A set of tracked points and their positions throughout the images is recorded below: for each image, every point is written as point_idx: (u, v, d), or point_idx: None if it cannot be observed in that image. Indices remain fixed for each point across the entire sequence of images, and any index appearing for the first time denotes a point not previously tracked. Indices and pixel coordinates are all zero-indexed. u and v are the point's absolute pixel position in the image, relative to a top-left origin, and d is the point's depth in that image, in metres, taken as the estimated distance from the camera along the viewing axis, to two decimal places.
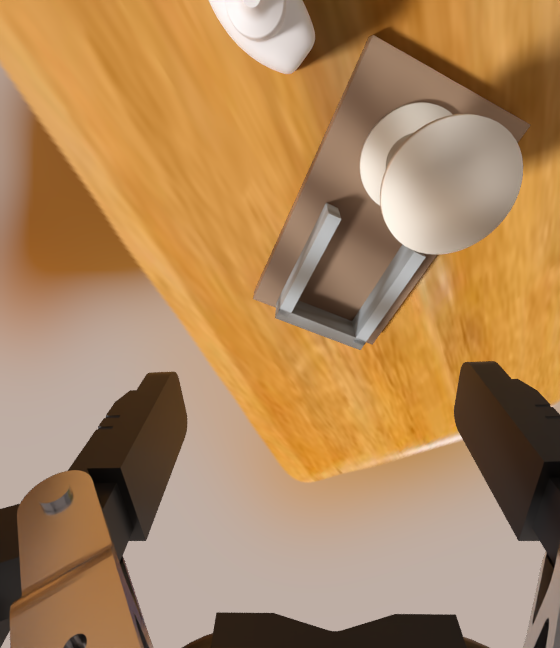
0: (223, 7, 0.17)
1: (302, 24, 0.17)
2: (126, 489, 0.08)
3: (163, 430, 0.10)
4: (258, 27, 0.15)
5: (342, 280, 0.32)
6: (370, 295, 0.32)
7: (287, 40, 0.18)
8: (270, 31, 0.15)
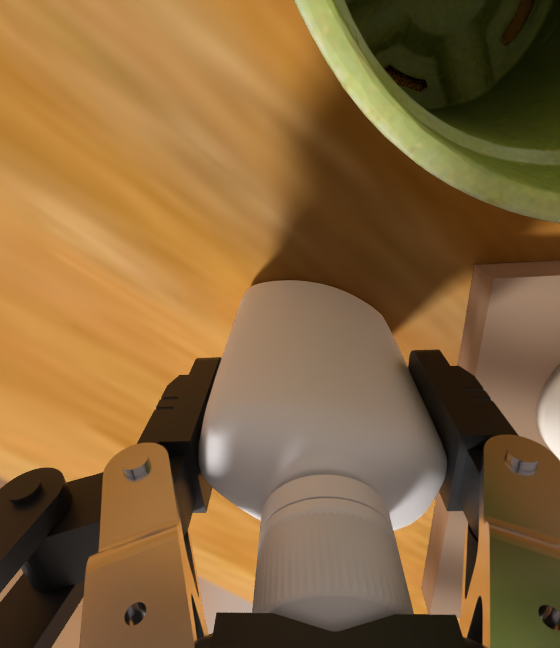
0: (252, 514, 0.08)
1: (421, 477, 0.08)
2: (193, 462, 0.08)
3: None
4: None
5: None
6: None
7: (402, 513, 0.08)
8: None
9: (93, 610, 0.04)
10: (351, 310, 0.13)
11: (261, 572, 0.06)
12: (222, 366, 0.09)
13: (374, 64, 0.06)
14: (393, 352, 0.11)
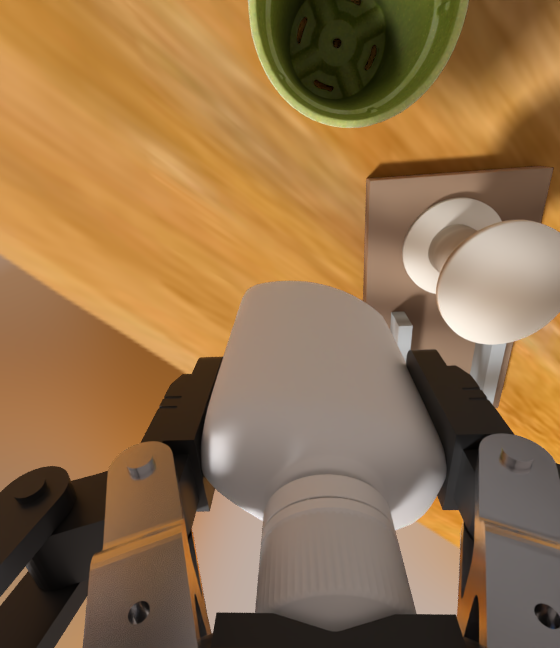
0: (254, 514, 0.08)
1: (422, 477, 0.08)
2: (196, 460, 0.08)
3: None
4: None
5: None
6: (472, 367, 0.32)
7: (403, 512, 0.08)
8: None
9: (97, 608, 0.05)
10: (352, 310, 0.13)
11: (264, 572, 0.06)
12: (223, 367, 0.09)
13: (291, 84, 0.19)
14: (393, 352, 0.11)
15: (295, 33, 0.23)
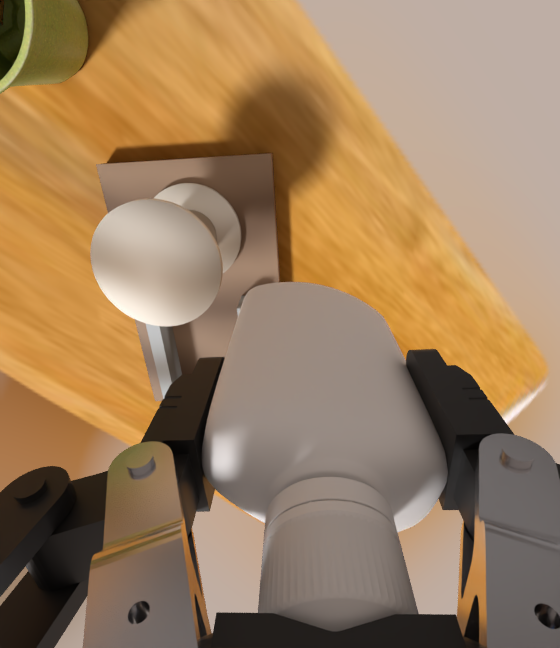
0: (256, 516, 0.08)
1: (424, 479, 0.08)
2: (196, 460, 0.08)
3: None
4: None
5: (215, 354, 0.32)
6: None
7: (405, 514, 0.08)
8: None
9: (97, 608, 0.05)
10: (353, 311, 0.13)
11: (266, 574, 0.06)
12: (225, 368, 0.09)
13: None
14: (395, 354, 0.11)
15: None
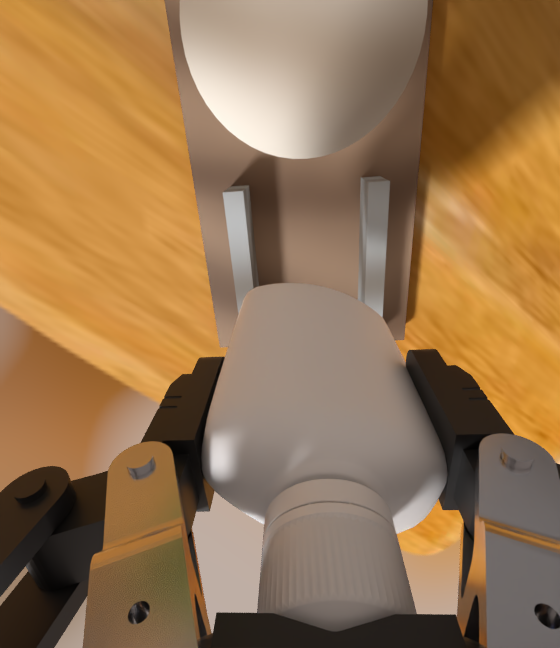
0: (255, 518, 0.08)
1: (423, 481, 0.08)
2: (197, 461, 0.08)
3: None
4: None
5: (311, 273, 0.23)
6: (359, 275, 0.22)
7: (404, 516, 0.08)
8: None
9: (97, 608, 0.05)
10: (353, 312, 0.13)
11: (265, 577, 0.06)
12: (224, 370, 0.09)
13: None
14: (394, 355, 0.11)
15: None
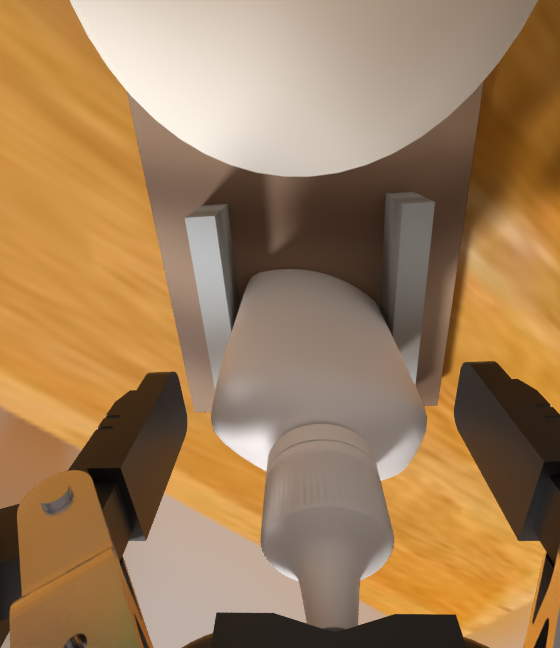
0: (259, 465, 0.09)
1: (403, 431, 0.09)
2: (126, 489, 0.08)
3: (163, 430, 0.10)
4: None
5: None
6: None
7: (387, 462, 0.09)
8: (378, 569, 0.07)
9: None
10: (347, 295, 0.14)
11: (268, 498, 0.07)
12: (232, 340, 0.11)
13: None
14: (383, 332, 0.13)
15: None
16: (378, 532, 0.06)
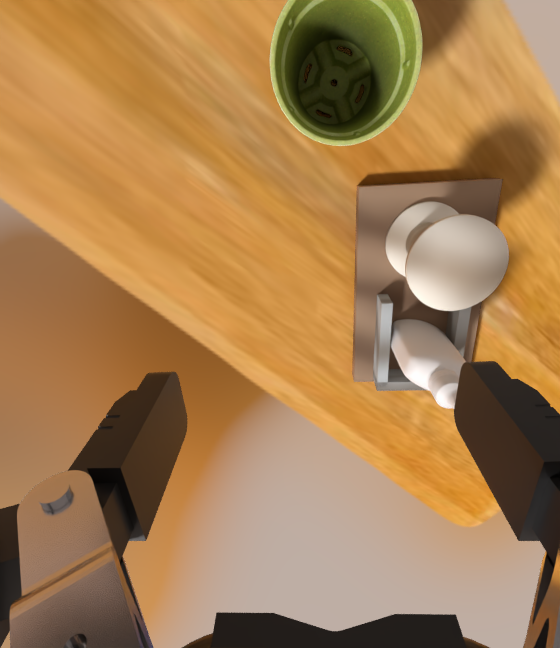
0: (421, 384, 0.31)
1: None
2: (126, 489, 0.08)
3: (163, 430, 0.10)
4: None
5: None
6: None
7: None
8: None
9: None
10: (436, 331, 0.36)
11: (435, 385, 0.29)
12: (407, 347, 0.33)
13: (298, 114, 0.26)
14: (452, 345, 0.35)
15: (302, 75, 0.31)
16: None
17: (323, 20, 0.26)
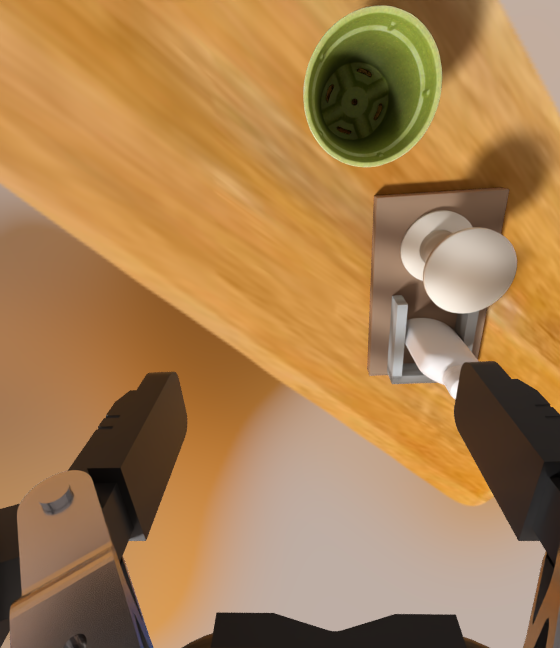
0: (436, 379, 0.35)
1: None
2: (126, 489, 0.08)
3: (163, 430, 0.10)
4: None
5: None
6: None
7: None
8: None
9: None
10: (446, 328, 0.39)
11: (450, 380, 0.32)
12: (422, 345, 0.36)
13: (326, 137, 0.29)
14: (462, 342, 0.38)
15: (325, 95, 0.33)
16: None
17: (348, 49, 0.29)
